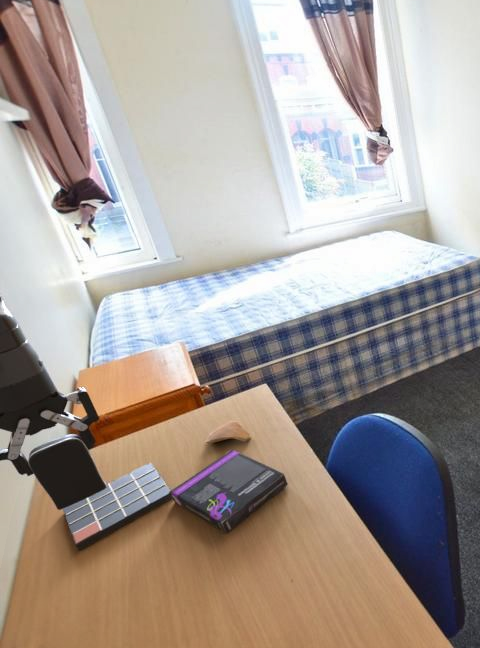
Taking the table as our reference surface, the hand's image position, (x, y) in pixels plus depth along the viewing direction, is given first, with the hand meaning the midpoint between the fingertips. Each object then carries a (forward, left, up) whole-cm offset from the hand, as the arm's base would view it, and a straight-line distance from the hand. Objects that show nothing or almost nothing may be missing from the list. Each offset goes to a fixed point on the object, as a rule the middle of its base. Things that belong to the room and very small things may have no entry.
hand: (61, 459), depth 78 cm
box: (+19, -2, -23) cm, 30 cm away
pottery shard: (+27, +20, -23) cm, 41 cm away
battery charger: (0, 0, -8) cm, 8 cm away
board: (+3, +16, -23) cm, 28 cm away
